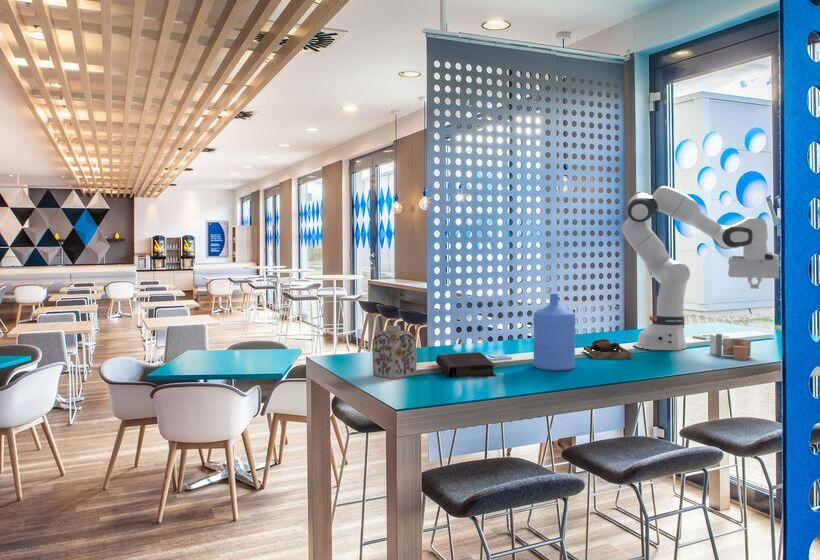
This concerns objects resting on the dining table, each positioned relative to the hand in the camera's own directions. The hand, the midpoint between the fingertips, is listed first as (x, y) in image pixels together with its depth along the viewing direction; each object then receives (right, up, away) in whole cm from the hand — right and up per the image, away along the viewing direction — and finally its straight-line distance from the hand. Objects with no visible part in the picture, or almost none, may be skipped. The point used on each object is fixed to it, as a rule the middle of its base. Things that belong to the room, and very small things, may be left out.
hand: (754, 288), depth 267 cm
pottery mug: (-64, -29, -4) cm, 71 cm away
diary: (-125, -31, -30) cm, 132 cm away
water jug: (-91, -30, -26) cm, 99 cm away
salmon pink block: (-12, -28, -12) cm, 33 cm away
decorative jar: (-151, -31, -38) cm, 159 cm away
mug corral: (-63, -28, -1) cm, 69 cm away
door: (-12, -27, -8) cm, 31 cm away
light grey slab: (-18, -28, -3) cm, 33 cm away
